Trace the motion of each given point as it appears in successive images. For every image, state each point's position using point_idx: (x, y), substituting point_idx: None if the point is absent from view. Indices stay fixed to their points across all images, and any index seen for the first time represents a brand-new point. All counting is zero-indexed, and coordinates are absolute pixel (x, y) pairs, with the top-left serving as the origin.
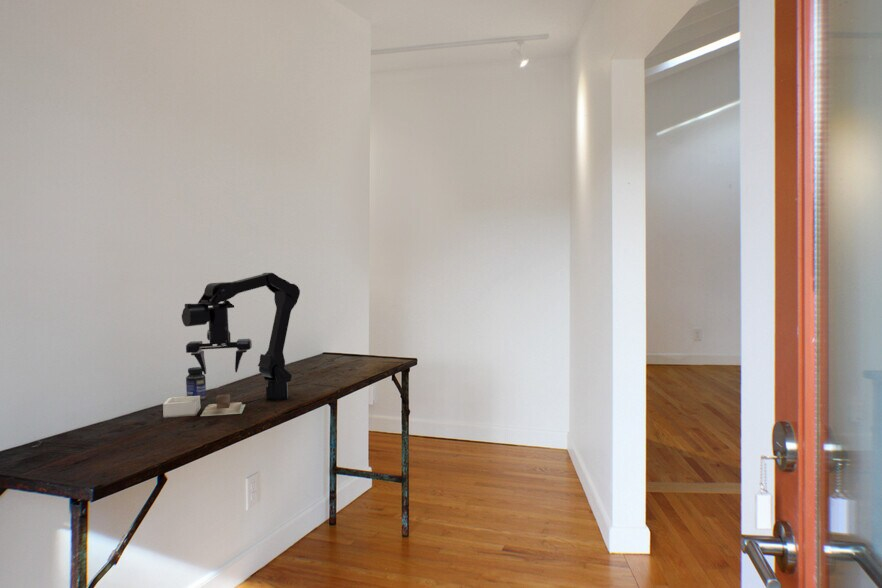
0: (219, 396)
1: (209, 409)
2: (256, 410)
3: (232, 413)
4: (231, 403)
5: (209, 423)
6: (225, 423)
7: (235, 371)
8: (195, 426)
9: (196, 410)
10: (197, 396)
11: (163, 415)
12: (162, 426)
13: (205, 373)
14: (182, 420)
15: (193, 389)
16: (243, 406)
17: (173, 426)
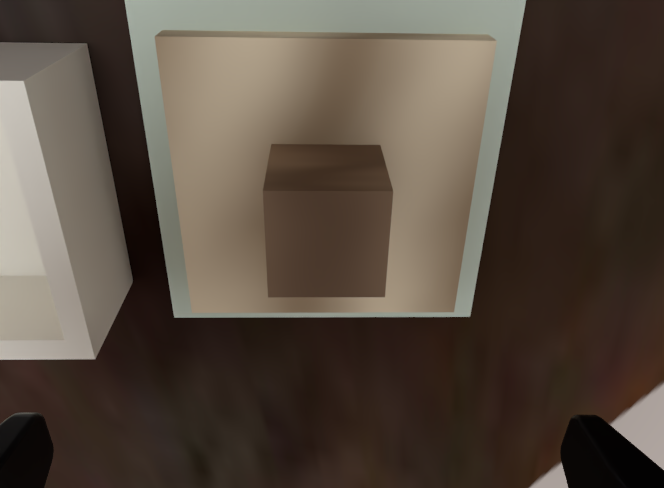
0: (294, 270)
1: (218, 252)
2: (586, 221)
3: None
4: (391, 69)
5: (276, 443)
6: (369, 461)
7: (565, 472)
8: (209, 475)
9: (113, 260)
10: (13, 127)
11: None
12: None
13: (49, 468)
14: None
15: None
16: (498, 97)
17: (76, 451)
